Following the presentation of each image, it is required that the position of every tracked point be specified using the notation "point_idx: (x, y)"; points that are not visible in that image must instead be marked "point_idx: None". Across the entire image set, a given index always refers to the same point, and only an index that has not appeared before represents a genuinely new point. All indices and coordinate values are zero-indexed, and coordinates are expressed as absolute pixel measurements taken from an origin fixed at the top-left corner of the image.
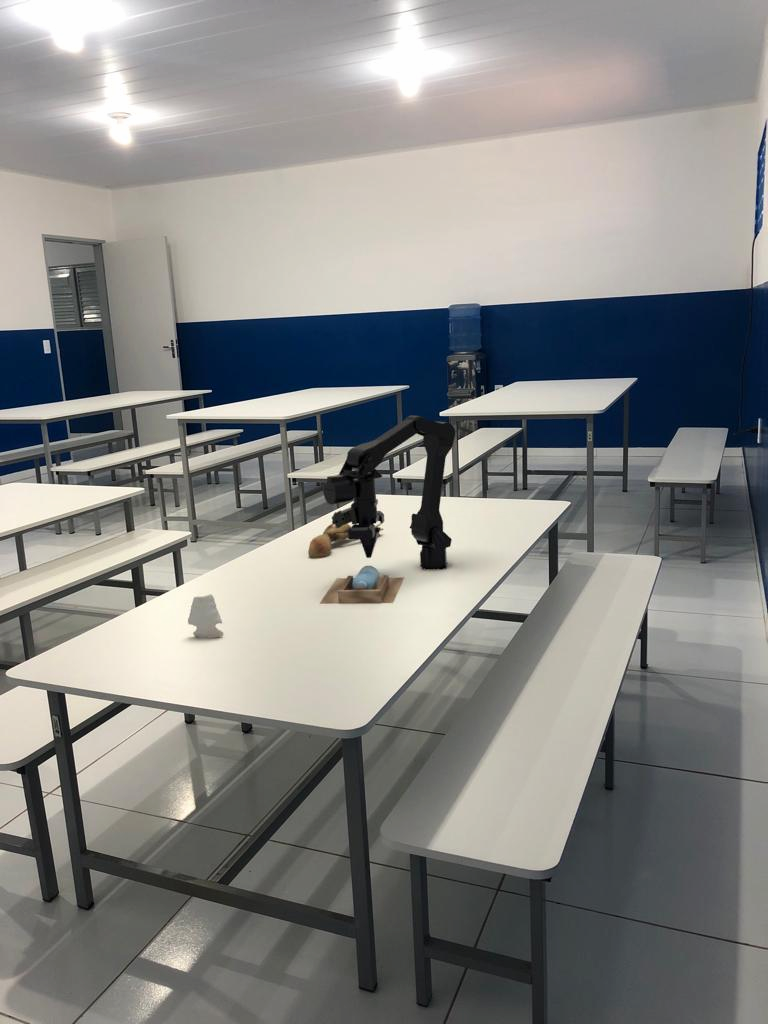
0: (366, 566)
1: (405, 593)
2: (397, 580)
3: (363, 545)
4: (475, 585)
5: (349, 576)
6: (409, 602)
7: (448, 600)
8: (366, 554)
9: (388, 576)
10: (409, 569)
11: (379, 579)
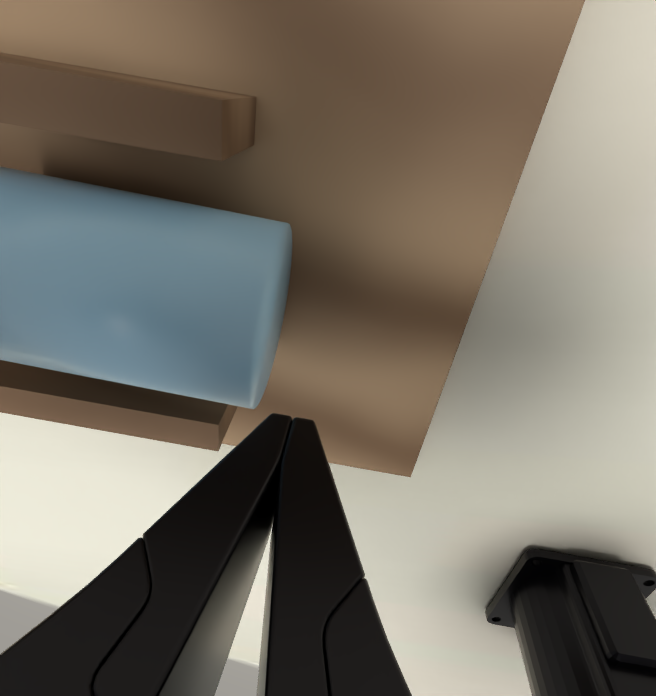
0: (220, 349)
1: (163, 449)
2: (357, 442)
3: (117, 572)
4: (259, 641)
5: (191, 120)
6: (30, 452)
7: (83, 563)
8: (241, 447)
9: (214, 443)
10: (609, 503)
11: (410, 349)
